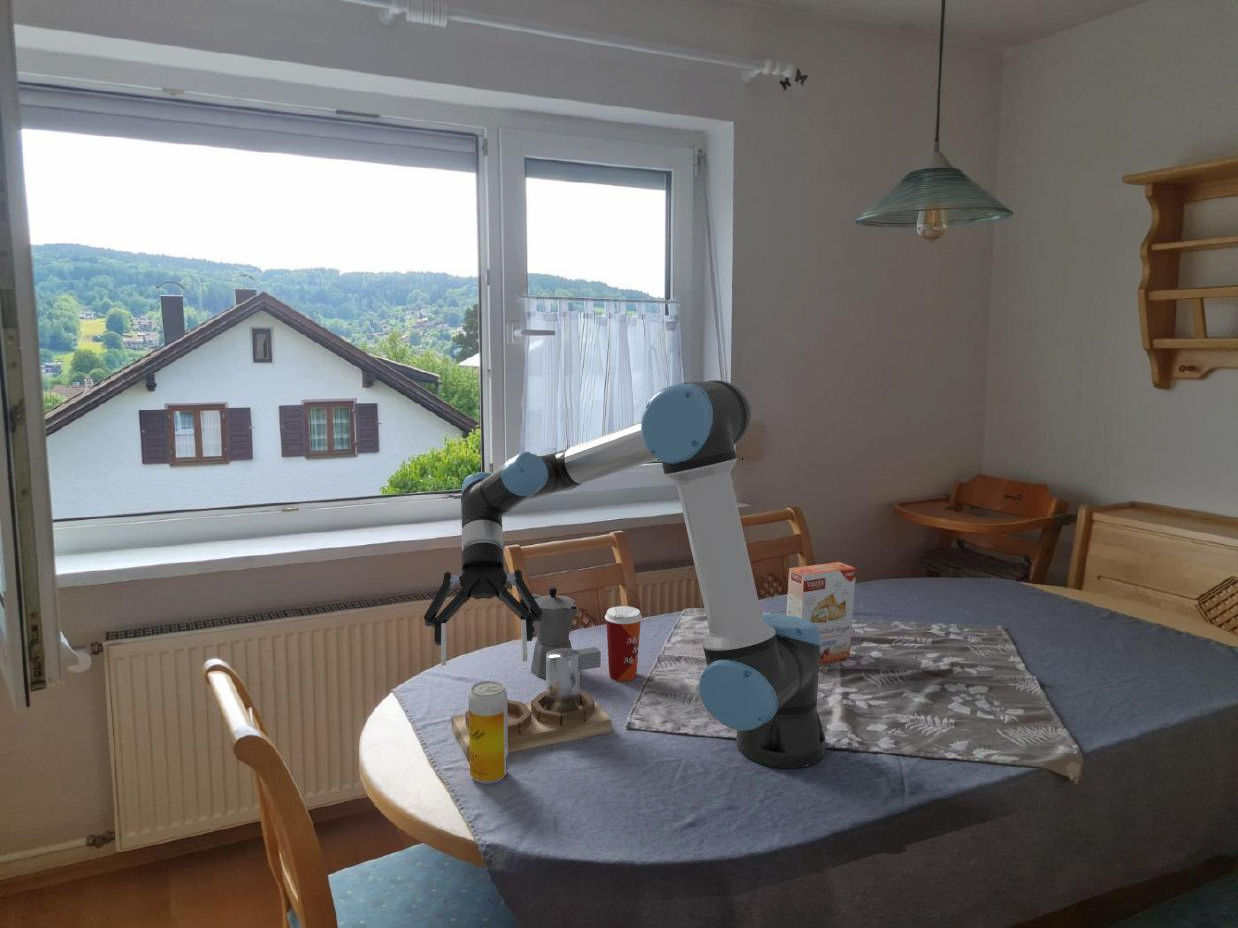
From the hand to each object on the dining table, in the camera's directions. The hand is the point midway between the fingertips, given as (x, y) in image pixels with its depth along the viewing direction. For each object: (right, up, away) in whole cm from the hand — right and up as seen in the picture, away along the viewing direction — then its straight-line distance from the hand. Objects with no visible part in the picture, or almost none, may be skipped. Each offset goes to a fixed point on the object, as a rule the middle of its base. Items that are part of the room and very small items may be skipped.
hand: (484, 660), depth 146 cm
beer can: (+2, -17, -7) cm, 19 cm away
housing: (+7, -15, +8) cm, 18 cm away
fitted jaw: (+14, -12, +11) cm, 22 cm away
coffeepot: (+8, -10, +36) cm, 38 cm away
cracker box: (+66, -10, +43) cm, 79 cm away
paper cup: (+24, -11, +33) cm, 42 cm away
